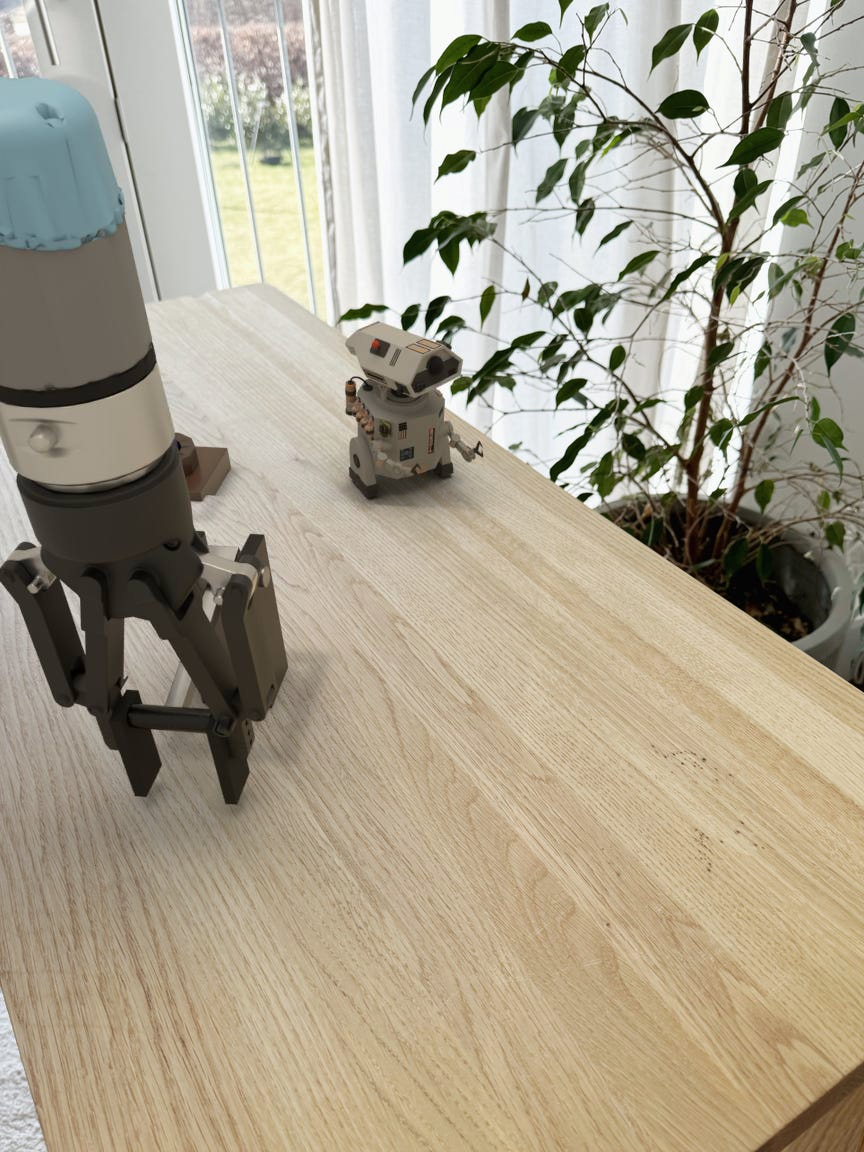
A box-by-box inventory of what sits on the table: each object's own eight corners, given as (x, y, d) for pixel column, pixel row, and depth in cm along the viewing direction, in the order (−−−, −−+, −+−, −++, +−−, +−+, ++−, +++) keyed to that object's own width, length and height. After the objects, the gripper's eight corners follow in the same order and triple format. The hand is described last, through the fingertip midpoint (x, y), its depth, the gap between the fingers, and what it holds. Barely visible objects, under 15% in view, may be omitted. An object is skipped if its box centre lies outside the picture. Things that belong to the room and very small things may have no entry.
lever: (216, 742, 59) (205, 721, 57) (134, 736, 60) (121, 715, 58) (268, 571, 67) (260, 547, 65) (195, 567, 67) (185, 543, 65)
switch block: (98, 507, 92) (87, 469, 89) (132, 462, 98) (122, 425, 95) (204, 513, 91) (196, 474, 88) (231, 467, 97) (224, 430, 94)
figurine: (393, 532, 88) (381, 373, 78) (343, 473, 96) (326, 320, 86) (484, 504, 91) (483, 348, 82) (429, 449, 99) (421, 300, 89)
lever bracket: (284, 751, 68) (255, 603, 60) (171, 742, 69) (126, 595, 61) (319, 655, 76) (298, 511, 67) (217, 648, 76) (182, 505, 68)
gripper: (-128, 486, 46) (27, 818, 61) (259, 508, 44) (320, 844, 59) (-44, 409, 51) (79, 730, 66) (302, 425, 49) (348, 751, 65)
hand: (192, 783), depth 63 cm, fingers closed on lever, 5 cm apart
